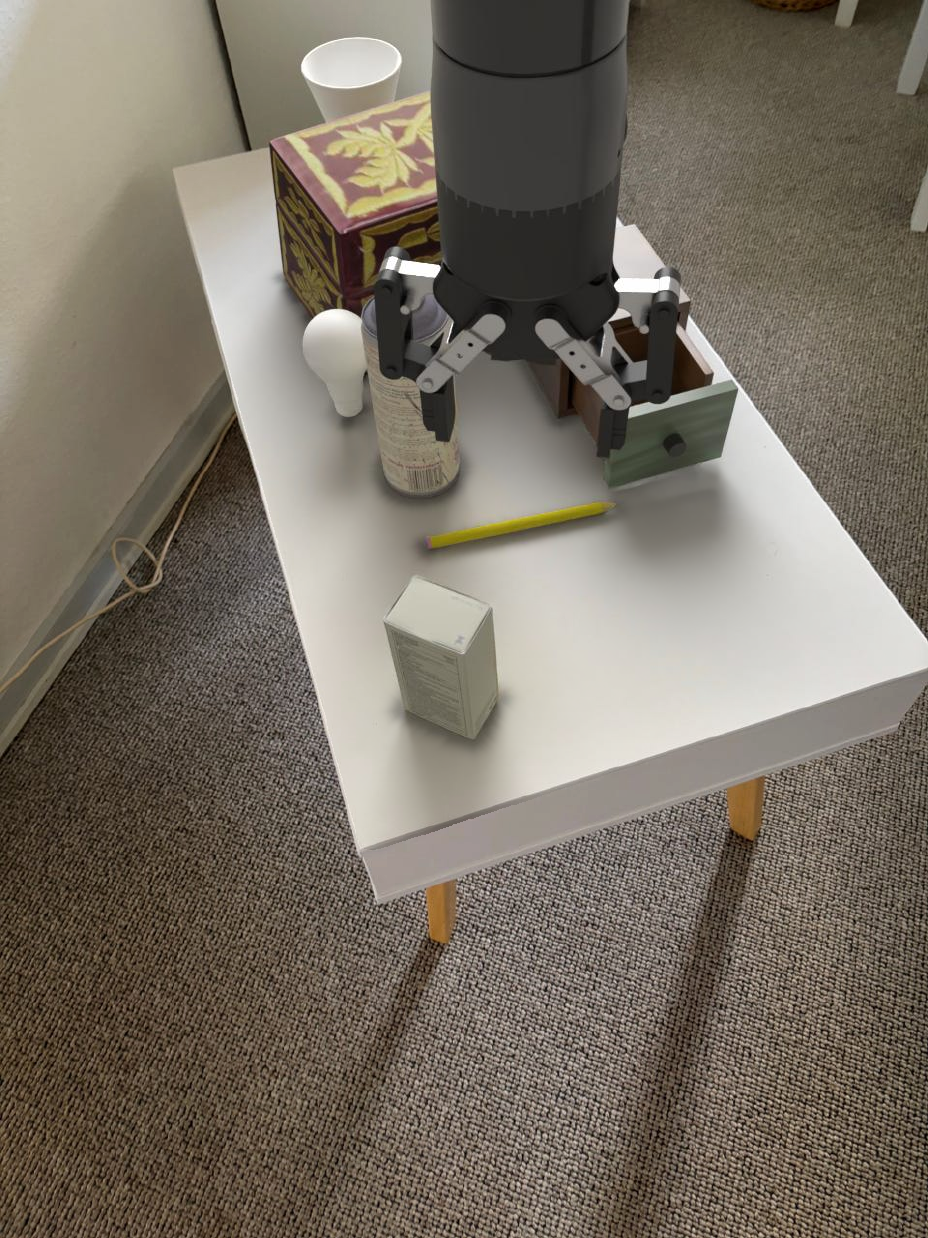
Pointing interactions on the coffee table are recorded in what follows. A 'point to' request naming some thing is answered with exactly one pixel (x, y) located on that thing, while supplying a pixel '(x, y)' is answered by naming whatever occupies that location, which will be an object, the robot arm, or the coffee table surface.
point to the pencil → (517, 524)
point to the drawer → (664, 414)
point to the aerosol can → (409, 414)
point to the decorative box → (355, 201)
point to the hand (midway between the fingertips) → (524, 438)
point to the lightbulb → (338, 357)
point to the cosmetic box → (444, 655)
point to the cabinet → (630, 263)
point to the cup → (352, 75)
